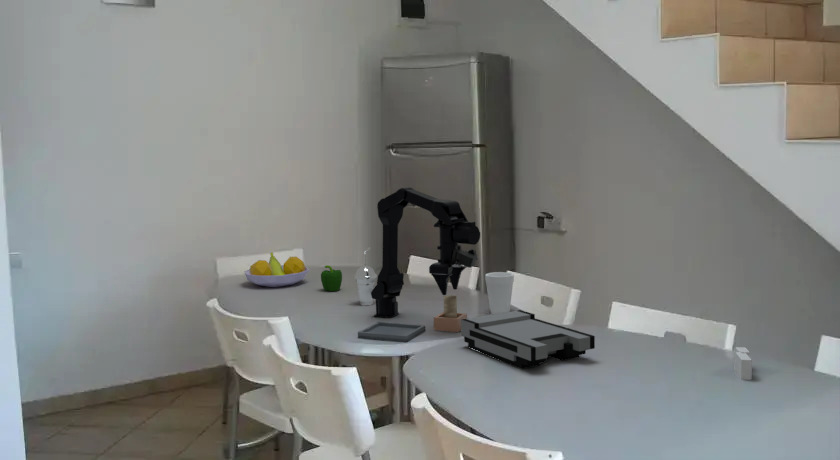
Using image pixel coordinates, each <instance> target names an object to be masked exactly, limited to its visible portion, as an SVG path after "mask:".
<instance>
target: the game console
mask: <svg viewBox="0 0 840 460" xmlns="http://www.w3.org/2000/svg"><path fill="white" fill-rule="evenodd" d="M535 315H536V314H535V313H532V312H528V311H526V310H521V309H518V310H513V311H512V310H510V311H509V312H505V313H499V314H486V315H481V316H476V317H475V316H474V317H467V319H461V331H460V335H461V336H462V337H464V339H463V340H464V341H463V342H465V343H467V346H468V347H470V348H473V349H475V350H478V351H480V352H482V353H484V354H487V355H489V356H491V357H490V358H492V357H494V358H493V359H495V358H496V359H495V360H497V359H499V360H498V361H500V360H501V361H500V362H502V361H503V362H502V363H506V364H508V365H510V366H513V367H516V368H518V369H520V370H524V369H529V368H534V367H537V366H541V364H542V363H546V362H547V358H548V357H550V358H553V359H556V360H559V361H568V360H572V359H576V358H580V356H581V355H585V354H586V351H588V350H593V349H595V348H596V347H595V346H596V345H595V344H596V343H595V342H596V340H595V339H596V338H595V337H596V336H595V335H593V334H590V333H585V332H583V331H578V330H576V329H572V328H569V327H565V326H563V325H562V326H561V325H559V324H556V323H550V322H549V321H546V320H545V321H544V320H541V319H538V318H536V317H535ZM468 347H467V348H468ZM482 353H481V354H482ZM484 354H483V355H484ZM487 355H486V356H487ZM489 356H488V357H489Z"/></svg>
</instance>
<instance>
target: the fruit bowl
mask: <svg viewBox="0 0 840 460" xmlns="http://www.w3.org/2000/svg"><path fill="white" fill-rule="evenodd" d="M309 271H310V269H309V268H308V267H307V266H306V265H305V263H304V260H302V259H301V258H299V257H297V256H289V257H288V258H287V259H286V261H284V263H283V264H282V265H281V263H280V262H279V260H278V259H277V258H276V257H275V256H274V252H270V257H269V261H267V260H264V259H263V260H261V259H259V260H257V261H255V263H253V264H252V265H250V267H249V269H247V270H244V271H243V272H244V276H245V278H246V281H247V282H251V283H253V284H256V285H258V286H260V287H261V286H262V287H267V288H279V287H286V286H294V285H295V284H296V283H299V282H300V281H302V280H304V279H305V278H306V275H307V274H308V272H309Z"/></svg>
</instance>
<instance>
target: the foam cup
mask: <svg viewBox="0 0 840 460" xmlns="http://www.w3.org/2000/svg"><path fill="white" fill-rule="evenodd" d="M484 276H485V277H484V278H485V279H484V281H485V283H486V289H487V291H486V292H487V298H488V305H489V306H488V307H489V312H490V315H492V314H499V313H505V312H511V303H512V296H513V285H514V282H515V280H514V279H515V278H514V277H515V273H513V272H508V271H507V272H506V271H504V272H503V271H498V272H497V271H495V272H494V271H493V272H488V273H485V275H484Z"/></svg>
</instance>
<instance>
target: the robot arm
mask: <svg viewBox="0 0 840 460" xmlns="http://www.w3.org/2000/svg"><path fill="white" fill-rule="evenodd" d="M409 204H411V205H414V206H416V207H418V208H421V209H424V210H425V211H428V212H430V213H431V215H432V216H433V217H434V218H435V219H437V222H435V223H434V224H433V227H434V228H438V229H439V231H438V232H439V245H437V250H439V258H438V259H437V262H434V263H432V264H430V265H429V267H428V274H430V276H432V277H433V279H434V281H435V283H436V284H437V287H438V289H439V290H440V292H441V295H442V296H447V293H448V292H447V291H448V285H449V284H448V283H449V280H450V283H451V286H452V289H453V290H457V289H458V287H459V282H460V278H461V275H462V273H463V271H464V270H465V269H467V268H472V267H474V266H475V264H476V261H477V260H478V255H477V250H475V249H473V248H471V249H469V250H468V251H467V250H463V249H462V245H461V244H464V245H472V246H474V245H477V244H478V243H479V241H480V240H481V239H480V238H481V232H480V229H479V227H478V226H476V221H469V220H468V219H467V217H466V215H465V213H464V212H463V210H462V208H461V205H460V203H459V202H458V201H457V200H451V199H442V198H441V199H440V198H436V197H434V196H431V195H429V194H426V193H424V192H422V191H418V190H416V189H414V188H413V187H400V188H399V189H397V191H395V192H394V193H391V194H390V195H388V196H386V197H384V198H383V197H382V198H381V199H380V200H379V201H378V202H377V204H376V205H377V208H376V209H377V215H378V218H379V220H380V222H381V224H382V263H381V264H382V266H381V269H380V271H379V273H378V274H377V278H376V279H377V280H376V285H374V289H373V290H372V291H371V296H372V299H373V300H375V314H374V315H373V317H375V318H377V317H379V318H388V319H389V318H393V317H395V316H397V315H399V314H400V312H399V303H398V300H397V297H400V296H401V291H402V289H403V286H405V282H404V278H405V277H404V275H405V274H404V273H403V272H401V271H400V269H399V267H398V255H399V254H398V253H399V252H398V251H399V250H398V248H399V245H398V244H399V243H398V241H399V238H398V237H399V236H398V235H399V234H398V233H399V223H400V222H401V219H402V218H403V215H404V214H403V213H404V209H405V208H406V207H407V206H408V205H409Z"/></svg>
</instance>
